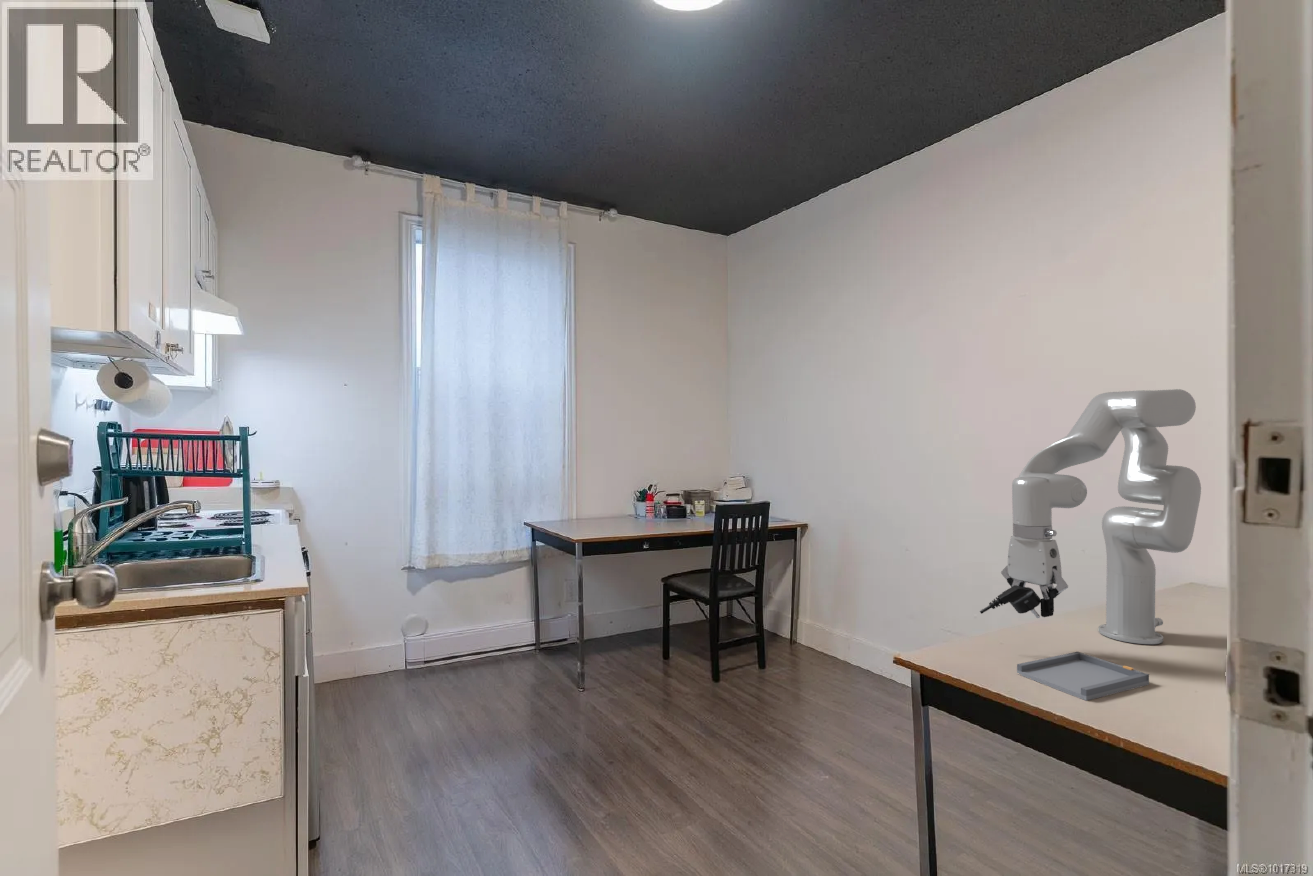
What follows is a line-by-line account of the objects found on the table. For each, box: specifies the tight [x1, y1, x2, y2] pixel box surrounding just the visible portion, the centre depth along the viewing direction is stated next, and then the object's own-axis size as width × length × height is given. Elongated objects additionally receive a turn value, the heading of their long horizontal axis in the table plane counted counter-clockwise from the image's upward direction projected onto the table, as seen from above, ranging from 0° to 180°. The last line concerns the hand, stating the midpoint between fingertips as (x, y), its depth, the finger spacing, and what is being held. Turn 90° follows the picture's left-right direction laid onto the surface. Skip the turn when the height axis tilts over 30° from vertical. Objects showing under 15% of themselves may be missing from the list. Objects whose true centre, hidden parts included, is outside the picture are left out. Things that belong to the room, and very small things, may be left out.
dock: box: [1016, 651, 1150, 702], centre depth 126 cm, size 19×14×2 cm
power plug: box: [979, 585, 1042, 619], centre depth 140 cm, size 6×8×12 cm
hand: (1033, 611), depth 140 cm, fingers closed on power plug, 5 cm apart
